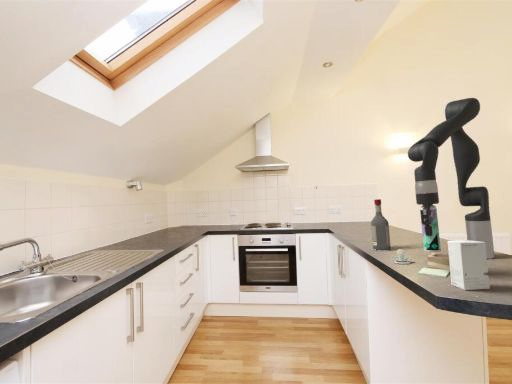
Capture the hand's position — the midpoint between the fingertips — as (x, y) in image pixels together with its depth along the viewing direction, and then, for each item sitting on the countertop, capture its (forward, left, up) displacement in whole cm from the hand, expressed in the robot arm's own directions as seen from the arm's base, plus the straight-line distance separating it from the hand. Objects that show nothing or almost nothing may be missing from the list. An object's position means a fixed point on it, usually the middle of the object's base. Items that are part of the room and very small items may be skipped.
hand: (430, 234), depth 101 cm
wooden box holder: (-10, +2, -15) cm, 18 cm away
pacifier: (-11, -14, -15) cm, 24 cm away
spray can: (0, 0, -7) cm, 7 cm away
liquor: (-41, -33, -15) cm, 55 cm away
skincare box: (+13, +12, -15) cm, 23 cm away
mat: (0, 0, -15) cm, 15 cm away
